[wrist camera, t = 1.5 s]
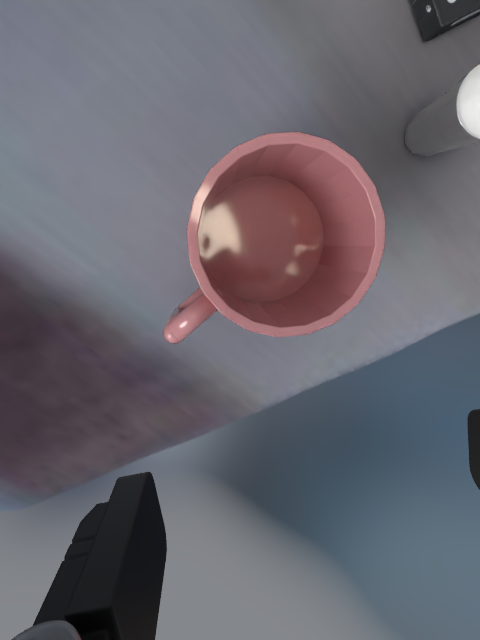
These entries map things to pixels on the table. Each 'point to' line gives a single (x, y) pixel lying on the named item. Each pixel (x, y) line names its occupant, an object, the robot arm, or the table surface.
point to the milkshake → (448, 119)
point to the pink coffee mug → (281, 238)
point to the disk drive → (443, 14)
